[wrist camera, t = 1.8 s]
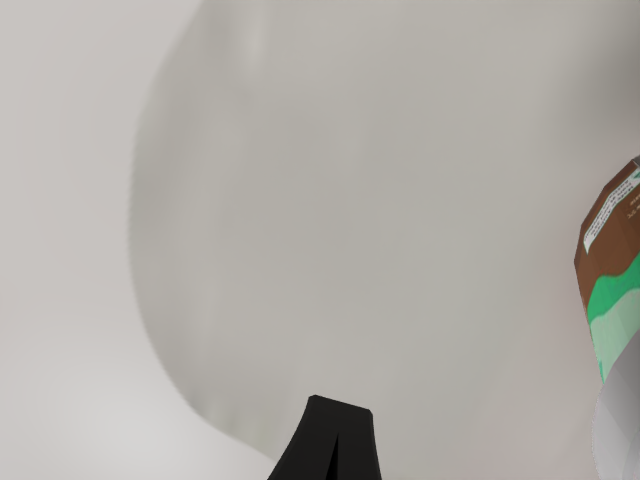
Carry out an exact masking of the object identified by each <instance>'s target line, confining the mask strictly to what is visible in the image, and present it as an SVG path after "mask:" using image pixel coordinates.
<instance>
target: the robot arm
mask: <svg viewBox="0 0 640 480" xmlns="http://www.w3.org/2000/svg"><path fill="white" fill-rule="evenodd" d="M267 480H382V478H381V473H380V468H379V462H378V456H377V450H376V444H375V436H374V427H373V414H372V413H371V411H370V410H369V409H365V408H362V407H358V406H354V405H351V404H347V403H343V402H340V401H336V400H332V399H329V398H325V397H322V396H318V395H313V396H310V397H309V398H308V402H307V405H306V409H305V411H304V414H303V416H302V419H301V421H300V423H299V425H298V427H297V429H296V431H295V433H294V435H293V437H292V439H291V441H290V443H289V445H288V446H287V448H286V450H285V451H284V453H283V455H282V456H281V458H280V460H279V461H278V463H277V465H276V466H275V468H274V470H273V471H272V473H271V475H270V476H269V478H268V479H267Z"/></svg>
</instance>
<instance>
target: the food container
mask: <svg viewBox="0 0 640 480" xmlns="http://www.w3.org/2000/svg"><path fill="white" fill-rule="evenodd" d="M574 264H575V269H576V274H577V279H578V284H579V289H580V294H581V298H582V302H583V306H584V310H585V314H586V318H587V322H588V325H589V329H590V333H591V337H592V341H593V345H594V349H595V353H596V357H597V361H598V365H599V369H600V373H601V377H602V381H603V384H604V385H603V387H602V389H601V391H600V393H599V395H598V400H597V404H596V409H595V413H594V418H593V422H592V453H593V457H594V460H595V464H596V468H597V471H598V475H599V478H600V480H640V166H639V165H638V164H637V163H636V162H635V161H633V160H631V161H630V162H629V163H628V164H627V165H626V166H625V167H624V168H623V169H622V170H621V171H620V172H619V173H618V174H617V175H616V176H615V177H614V178H613V179H612V180H611V181H610V182H609V183H608V184H607V185H606V186H605V187H604V188H603V190H602V192H601V193H600V195H599V197H598V198H597V200H596V202H595V203H594V205H593V207H592V208H591V210H590V212H589V213H588V215H587V217H586V218H585V220H584V222H583V223H582V225H581V230H580V235H579V240H578V245H577V249H576V254H575V259H574Z"/></svg>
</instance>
